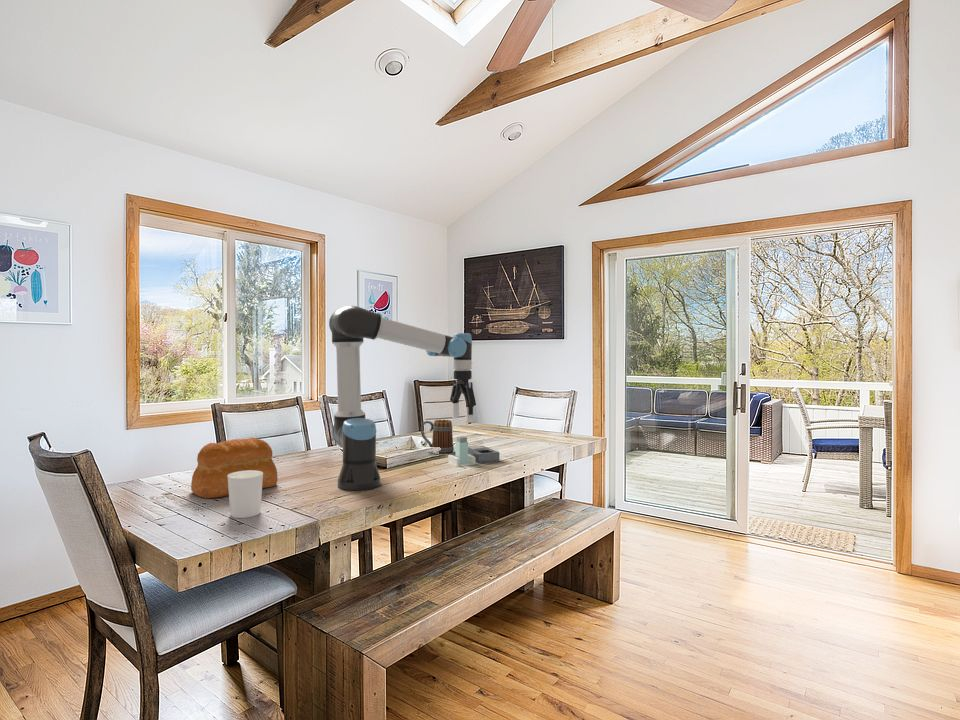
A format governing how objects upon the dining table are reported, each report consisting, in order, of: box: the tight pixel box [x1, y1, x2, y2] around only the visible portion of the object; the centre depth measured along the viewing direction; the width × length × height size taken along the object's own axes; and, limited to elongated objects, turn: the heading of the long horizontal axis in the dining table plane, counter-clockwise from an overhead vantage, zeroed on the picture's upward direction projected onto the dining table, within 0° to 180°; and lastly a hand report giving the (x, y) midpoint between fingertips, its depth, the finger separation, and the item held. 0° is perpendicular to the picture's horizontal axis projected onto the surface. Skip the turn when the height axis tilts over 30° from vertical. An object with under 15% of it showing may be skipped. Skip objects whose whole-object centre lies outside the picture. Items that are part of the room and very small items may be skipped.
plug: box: [454, 435, 469, 464], centre depth 229 cm, size 4×4×11 cm
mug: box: [420, 419, 455, 456], centre depth 255 cm, size 16×11×15 cm
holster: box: [447, 454, 476, 467], centre depth 229 cm, size 9×9×4 cm
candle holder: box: [227, 470, 263, 519], centre depth 162 cm, size 10×10×12 cm
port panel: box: [468, 445, 500, 465], centre depth 238 cm, size 10×16×5 cm, turn 27°
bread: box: [190, 437, 278, 499], centre depth 189 cm, size 16×26×17 cm, turn 139°
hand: (462, 420), depth 229 cm, fingers open, 13 cm apart
